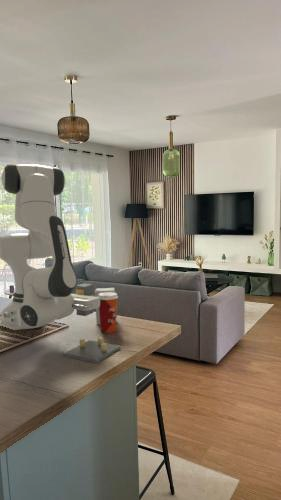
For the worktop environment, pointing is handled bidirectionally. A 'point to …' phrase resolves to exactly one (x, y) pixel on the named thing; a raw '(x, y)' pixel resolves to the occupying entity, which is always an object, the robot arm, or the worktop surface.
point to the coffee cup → (108, 311)
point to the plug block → (84, 290)
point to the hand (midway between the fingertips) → (86, 296)
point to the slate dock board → (92, 350)
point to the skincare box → (97, 292)
